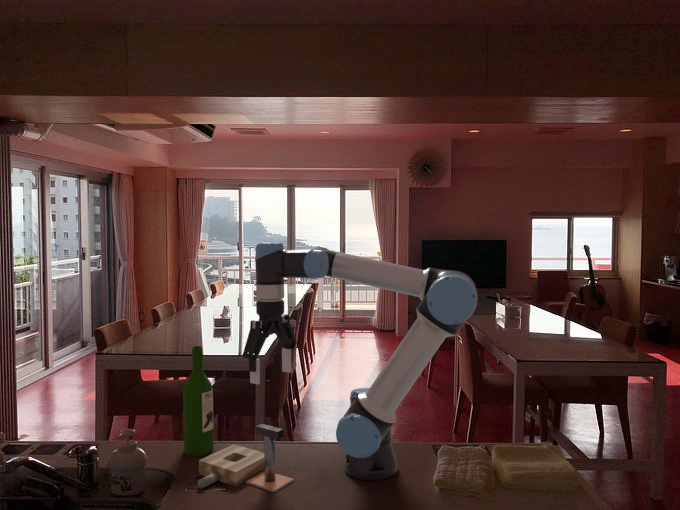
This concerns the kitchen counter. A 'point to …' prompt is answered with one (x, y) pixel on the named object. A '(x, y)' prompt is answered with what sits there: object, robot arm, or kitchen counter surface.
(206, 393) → the wine bottle
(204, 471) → the jig
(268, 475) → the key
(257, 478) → the mat
